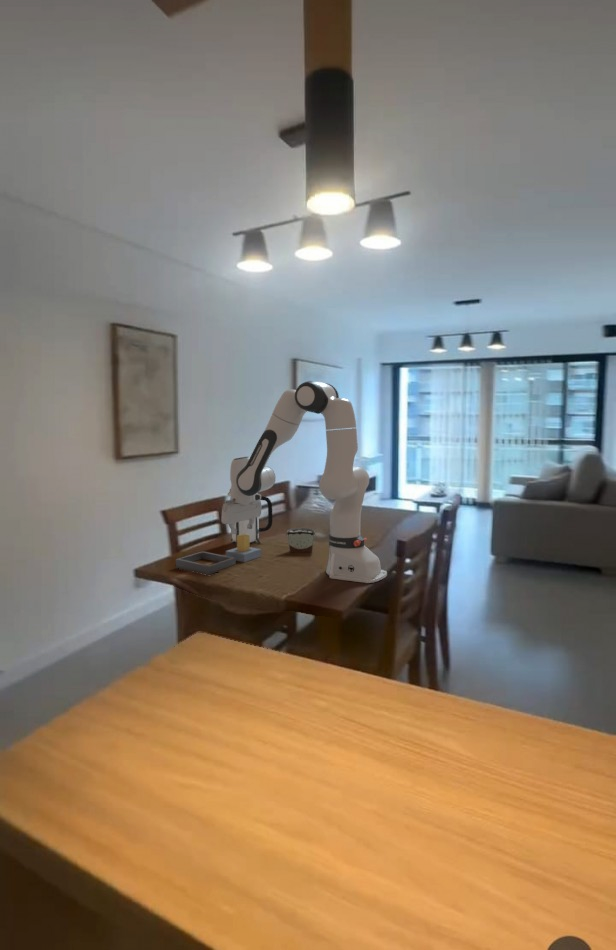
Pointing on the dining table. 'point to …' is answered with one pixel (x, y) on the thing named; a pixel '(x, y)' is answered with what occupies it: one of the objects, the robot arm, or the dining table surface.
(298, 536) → the food container
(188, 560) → the parts tray
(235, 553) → the socket block
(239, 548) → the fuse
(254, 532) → the coffee press
